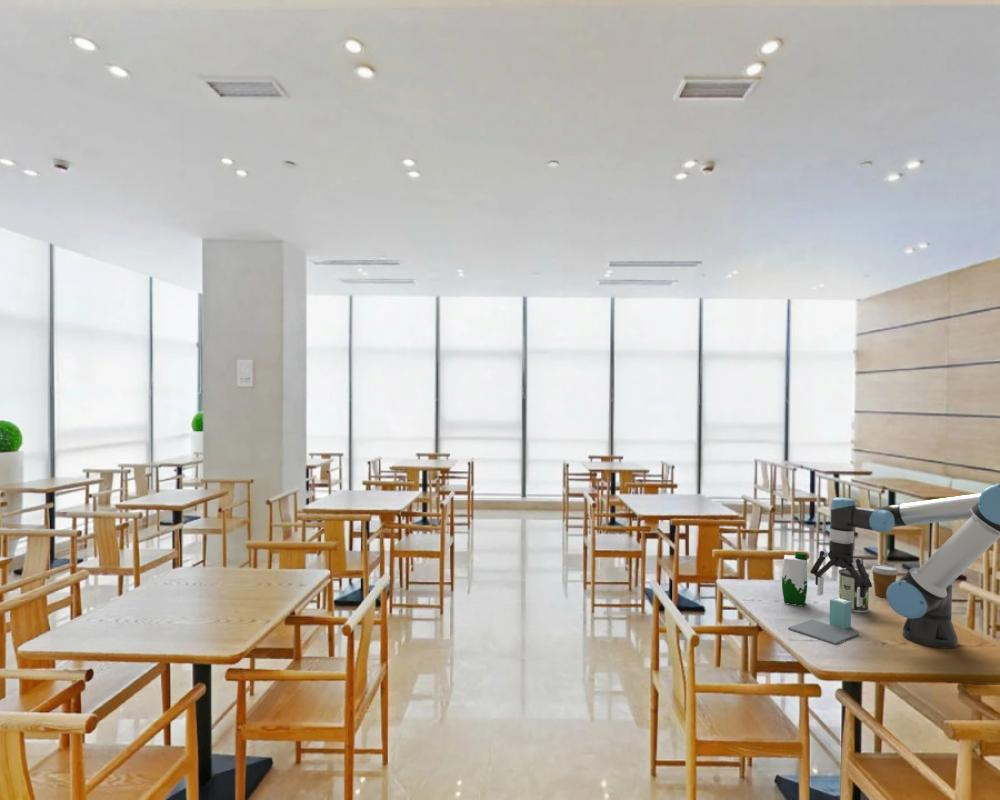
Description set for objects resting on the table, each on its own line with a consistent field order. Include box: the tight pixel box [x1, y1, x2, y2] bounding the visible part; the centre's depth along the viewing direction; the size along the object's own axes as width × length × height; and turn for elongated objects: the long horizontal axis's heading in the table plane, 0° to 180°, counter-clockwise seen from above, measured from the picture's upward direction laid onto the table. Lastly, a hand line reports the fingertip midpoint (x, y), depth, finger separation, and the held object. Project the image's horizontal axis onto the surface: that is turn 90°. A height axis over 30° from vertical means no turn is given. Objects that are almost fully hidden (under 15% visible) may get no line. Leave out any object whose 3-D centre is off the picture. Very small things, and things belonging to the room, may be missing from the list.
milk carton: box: [781, 551, 808, 607], centre depth 239 cm, size 9×9×20 cm
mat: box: [787, 618, 859, 645], centre depth 207 cm, size 16×16×1 cm
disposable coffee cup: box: [870, 564, 899, 599], centre depth 251 cm, size 10×10×12 cm
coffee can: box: [838, 568, 870, 614], centre depth 234 cm, size 10×10×14 cm
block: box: [828, 597, 852, 629], centre depth 214 cm, size 5×5×9 cm
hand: (839, 600), depth 214 cm, fingers open, 13 cm apart
